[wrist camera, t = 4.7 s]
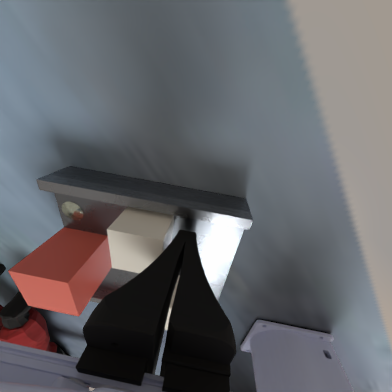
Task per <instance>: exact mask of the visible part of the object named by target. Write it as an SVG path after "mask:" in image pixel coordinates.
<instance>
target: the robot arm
mask: <svg viewBox="0 0 392 392" xmlns="http://www.w3.org/2000/svg"><path fill="white" fill-rule="evenodd" d="M180 269H181V271H180ZM179 273H180V277H179V281H178V285H177V289H176V294H175V298H174V302H173V306H172V310H171V314H170V317H169V323H168V330H167V337H166V343H165V348H164V352H163V357H162V365H161V372H160V376H158V375H154V374H155V370H156V365H157V361H158V356H159V352H160V347H161V343H162V338H163V334H164V329H165V325H166V320H167V316H168V311H169V307H170V303H171V298H172V295H173V291H174V288H175V285H176V282H177V279H178V276H179ZM83 334H84V337H85V340H86V343H87V347H86V348H85V350H84V352H83V354H82V356H81V357H80V358H76V357H72V356H67V355H62V354H58V353H53V352H49V351H44V350H40V349H35V348H31V347H26V346H21V345H17V344H12V343H8V342H3V341H0V392H231V391H230V386H229V377H230V363H231V361H232V360H233V358H234V356H235V354H236V344H235V338H234V333H233V330H232V326H231V323H230V321H229V319H228V318H227V316H226V315H225V313H224V311H223V310H222V308H221V306H220V304H219V303H218V301H217V299H216V297H215V295H214V293H213V291H212V289H211V287H210V284H209V282H208V280H207V277H206V275H205V272H204V269H203V266H202V263H201V259H200V255H199V251H198V246H197V234H196V232H191V231H186V230H181V229H180V230H179V231H178V233H177V234H176V236H175V237H174V239H173V240H172V242H171V243H170V244H169V245H168V247H167V248H166V249H165V250H164V251H163V252H162V253H161V254H160V255H159V256H158V257H157V258H156V259H155V260H154V261H153V262H152V263H151V264H150V265H149V266H148V267H147V268H145V269H144V270H143V271H142V272H141V273H139V274H138V275H137V276H135V277H134V278H133V279H131V280H130V281H128V282H127V283H126V284H124V285H123V286H121V287H120V288H118V289H116V290H115V291H113V292H111V293H110V294H108V295H106V296H105V297H104V298H103V299H102V300H101V301H100V303H99V304H98V305H97V307H96V308H95V309H94V311H93V312H92V314H91V315H90V317H89V319H88V320H87V322H86V324H85V326H84V327H83ZM333 340H334V338H333V336H332V335H331V334H327V333H322V332H317V331H312V330H308V329H303V328H298V327H293V326H288V325H283V324H278V323H274V322H269V321H264V320H257V321H256V322H255V323H254V325H253V327H252V328H251V330H250V332H249V333H248V335H247V337H246V338H245V340H244V341H243V343H242V345H241V350H242V351H244V352H249V353H251V355H252V362H253V369H254V376H255V383H256V391H257V392H354V390H353V388H352V386H351V384H350V382H349V379H348V377H347V375H346V373H345V371H344V369H343V367H342V365H341V363H340V361H339V359H338V357H337V355H336V353H335V351H334V348H333V346H332V344H331V342H332V341H333ZM87 386H88V387H87ZM89 387H92V388H95V389H94V390H93V391H89Z"/></svg>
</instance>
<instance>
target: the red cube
mask: <svg viewBox="0 0 392 392" xmlns="http://www.w3.org/2000/svg"><path fill="white" fill-rule="evenodd" d="M111 268H112V264H111V257H110V249H109V242H108V236H106V235H101V234H96V233H91V232H86V231H81V230H76V229H71V228H66V227H64V228H63V229H61V230H60V231H59V232H57V233H56V234H55V235H54V236H52V237H51V238H50V239H48V240H47V241H46V242H45V243H43V244H42V245H41V246H39V247H38V248H37V249H36V250H34V251H33V252H32V253H30V254H29V255H28V256H26V257H25V258H24V259H23V260H21V261H20V262H19V263H17V264H16V265H15V266H14V267H12V268H11V269H10V270H8V272H9V273H10V275H11V277H12V278H13V280H14V282H15V284H16V285H17V287H18V289H19V291H20V292H21V294H22V296H23V298H24V299H25V301H26V303H27V304H28V306H32V307H37V308H42V309H46V310H51V311H56V312H61V313H65V314H70V315H75V316H80V314H81V313H82V311H83V310H84V308H85V307H86V305H87V304H88V302H89V301H90V299H91V298H92V296H93V295H94V293H95V292H96V290H97V289H98V287H99V286H100V284H101V283H102V281H103V280H104V278H105V277H106V275H107V274H108V272H109V271H110V269H111Z"/></svg>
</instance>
